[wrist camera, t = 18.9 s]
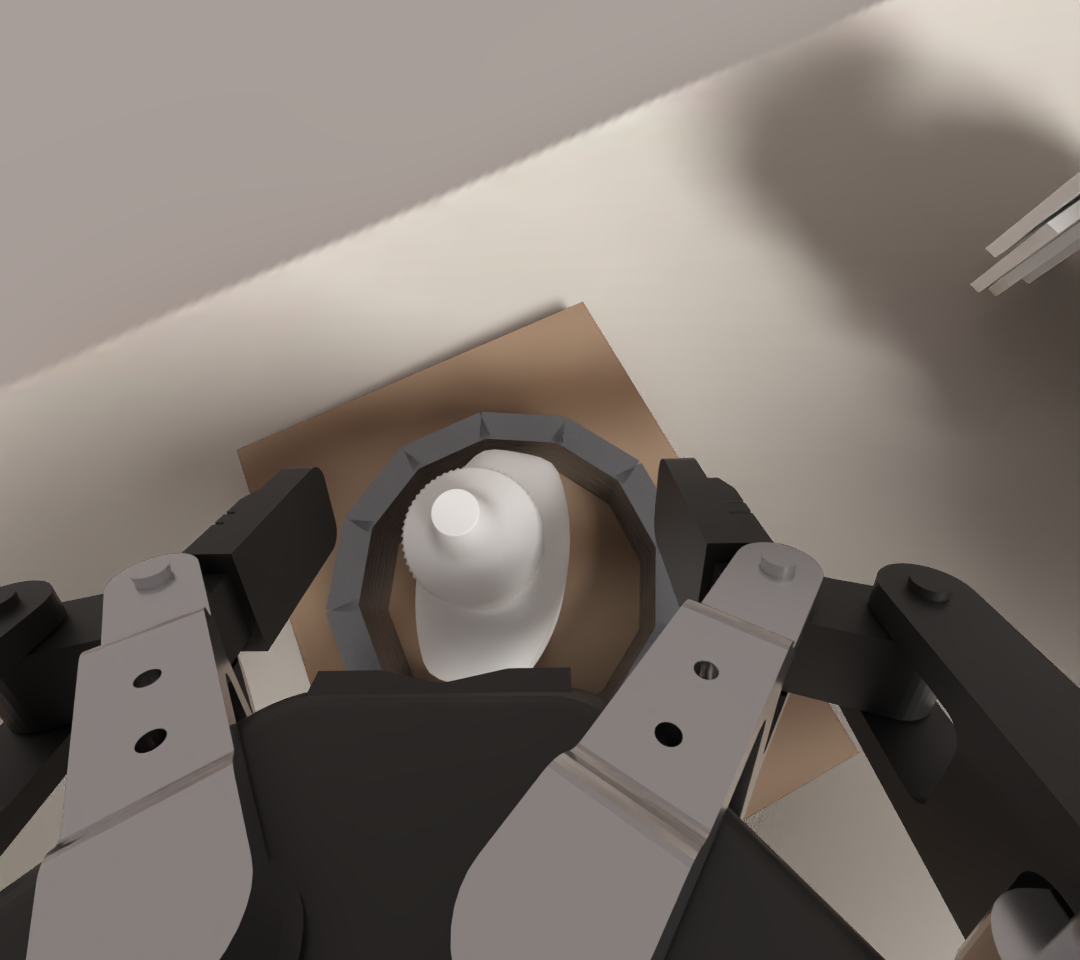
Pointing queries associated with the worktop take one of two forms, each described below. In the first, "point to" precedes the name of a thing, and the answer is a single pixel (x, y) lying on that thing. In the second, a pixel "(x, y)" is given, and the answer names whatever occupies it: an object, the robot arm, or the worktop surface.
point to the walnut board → (595, 534)
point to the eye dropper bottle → (488, 563)
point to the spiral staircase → (1036, 240)
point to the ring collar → (384, 504)
